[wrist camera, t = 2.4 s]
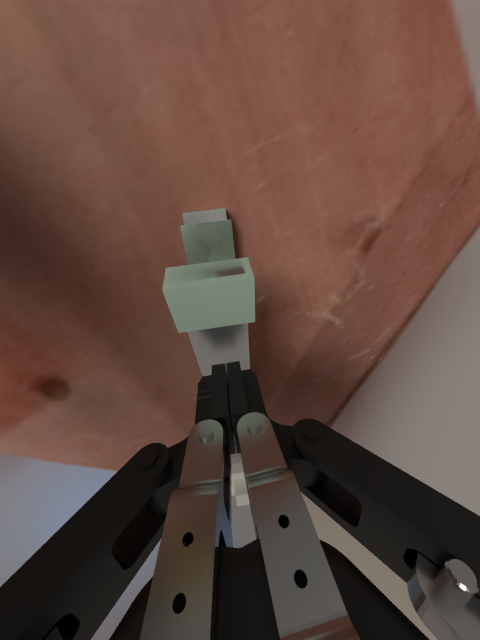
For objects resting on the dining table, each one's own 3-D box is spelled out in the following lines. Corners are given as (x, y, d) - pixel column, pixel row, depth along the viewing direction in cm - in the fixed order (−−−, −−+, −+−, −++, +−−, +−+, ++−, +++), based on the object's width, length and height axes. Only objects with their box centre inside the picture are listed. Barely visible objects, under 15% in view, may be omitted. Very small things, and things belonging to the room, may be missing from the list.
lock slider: (264, 453, 30) (275, 504, 25) (221, 461, 30) (223, 514, 24) (262, 432, 28) (273, 483, 23) (216, 440, 28) (218, 493, 23)
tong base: (257, 463, 31) (261, 487, 28) (230, 467, 31) (232, 493, 28) (228, 207, 17) (231, 207, 15) (180, 213, 17) (174, 214, 14)
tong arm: (254, 424, 24) (257, 440, 23) (220, 429, 24) (222, 446, 23) (247, 257, 10) (254, 278, 9) (165, 267, 10) (162, 290, 9)
